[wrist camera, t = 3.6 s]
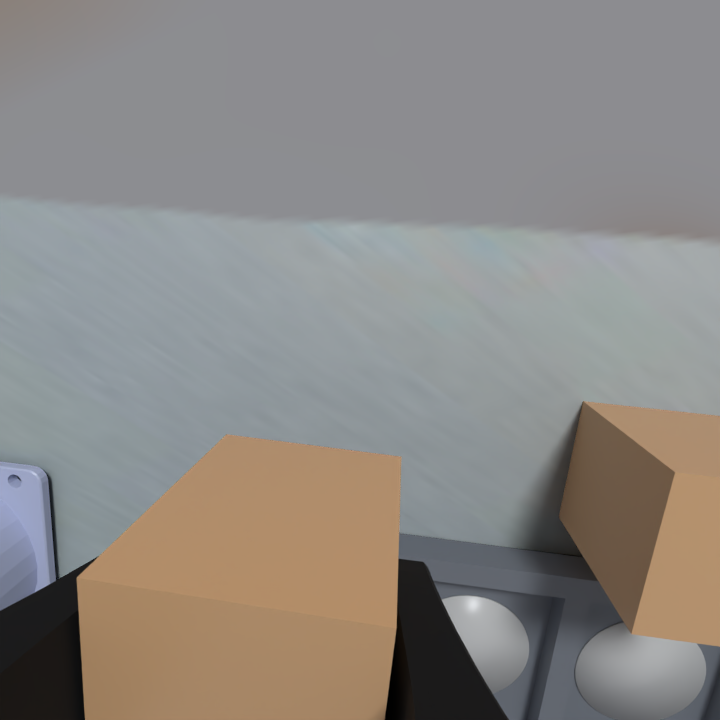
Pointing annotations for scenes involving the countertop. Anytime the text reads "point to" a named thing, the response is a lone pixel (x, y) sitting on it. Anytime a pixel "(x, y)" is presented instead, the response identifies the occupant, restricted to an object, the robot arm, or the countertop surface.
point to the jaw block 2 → (650, 516)
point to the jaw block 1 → (250, 591)
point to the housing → (562, 638)
